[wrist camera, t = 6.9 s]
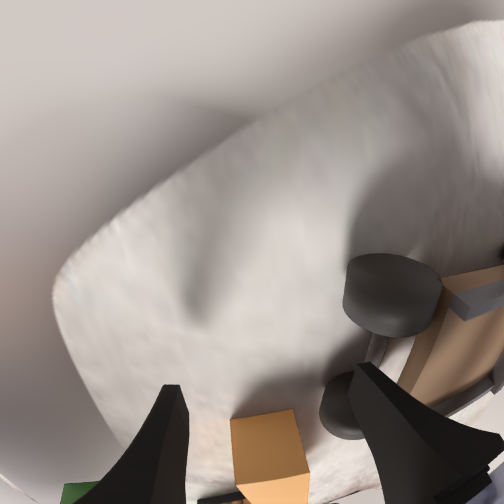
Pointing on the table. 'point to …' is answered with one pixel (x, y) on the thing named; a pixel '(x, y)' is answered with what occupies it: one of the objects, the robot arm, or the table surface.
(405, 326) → the dolly
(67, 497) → the hardback book
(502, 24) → the table surface
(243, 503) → the ammunition clip
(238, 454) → the block
